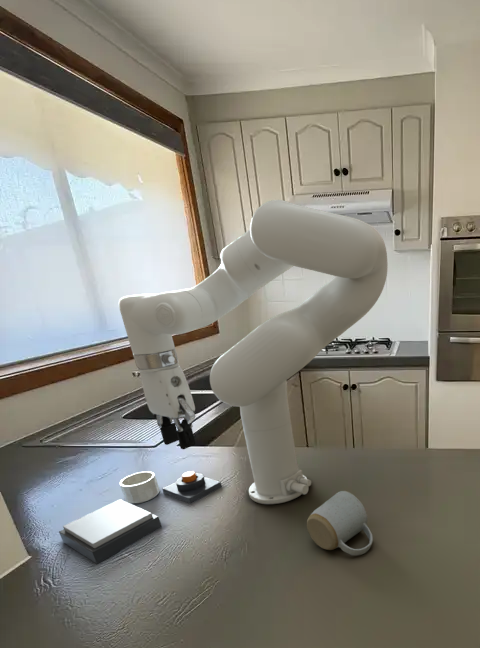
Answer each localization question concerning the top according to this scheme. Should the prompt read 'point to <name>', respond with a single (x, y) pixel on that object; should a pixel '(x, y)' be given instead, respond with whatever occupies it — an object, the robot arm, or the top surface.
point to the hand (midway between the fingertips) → (180, 443)
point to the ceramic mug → (339, 523)
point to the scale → (109, 530)
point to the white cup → (139, 487)
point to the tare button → (189, 476)
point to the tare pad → (192, 488)
